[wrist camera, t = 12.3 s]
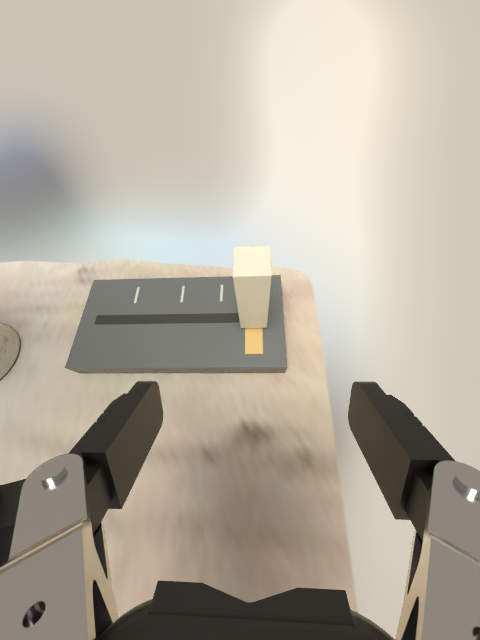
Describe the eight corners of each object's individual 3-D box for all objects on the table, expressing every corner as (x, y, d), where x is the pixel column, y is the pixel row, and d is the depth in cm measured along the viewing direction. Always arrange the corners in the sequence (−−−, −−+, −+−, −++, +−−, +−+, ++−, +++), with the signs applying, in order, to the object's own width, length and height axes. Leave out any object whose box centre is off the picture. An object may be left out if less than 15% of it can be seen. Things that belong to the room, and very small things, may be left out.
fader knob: (240, 327, 28) (232, 276, 19) (240, 305, 29) (233, 247, 20) (267, 327, 28) (272, 275, 19) (266, 304, 29) (270, 245, 20)
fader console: (79, 372, 30) (64, 367, 28) (104, 290, 35) (93, 279, 33) (284, 372, 28) (286, 367, 26) (278, 286, 34) (280, 274, 31)
